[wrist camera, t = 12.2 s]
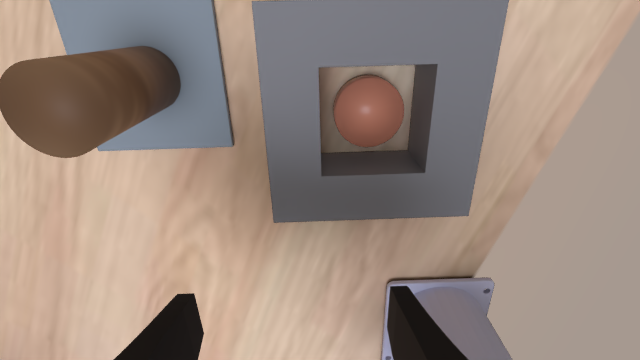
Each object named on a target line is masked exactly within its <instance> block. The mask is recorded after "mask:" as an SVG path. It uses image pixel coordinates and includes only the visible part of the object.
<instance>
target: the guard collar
mask: <svg viewBox="0 0 640 360" xmlns="http://www.w3.org/2000/svg"><path fill="white" fill-rule="evenodd" d="M508 2H509V0H284V1H252V9H253V19H254V29H255V40H256V50H257V60H258V70H259V80H260V90H261V100H262V110H263V120H264V130H265V140H266V150H267V160H268V170H269V180H270V190H271V200H272V210H273V220H274V223H278V222H307V221H336V220H365V219H394V218H422V217H451V216H469V210H470V205H471V200H472V194H473V189H474V184H475V178H476V173H477V168H478V162H479V157H480V152H481V146H482V141H483V136H484V130H485V125H486V120H487V114H488V109H489V104H490V98H491V93H492V88H493V82H494V77H495V72H496V66H497V61H498V56H499V50H500V45H501V40H502V34H503V29H504V24H505V18H506V13H507V8H508ZM385 65H416V67H415V78H414V89H413V100H412V111H411V122H410V133H409V145H408V150H403V151H373V152H342V153H321V142H320V105H319V67H352V66H385Z"/></svg>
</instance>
